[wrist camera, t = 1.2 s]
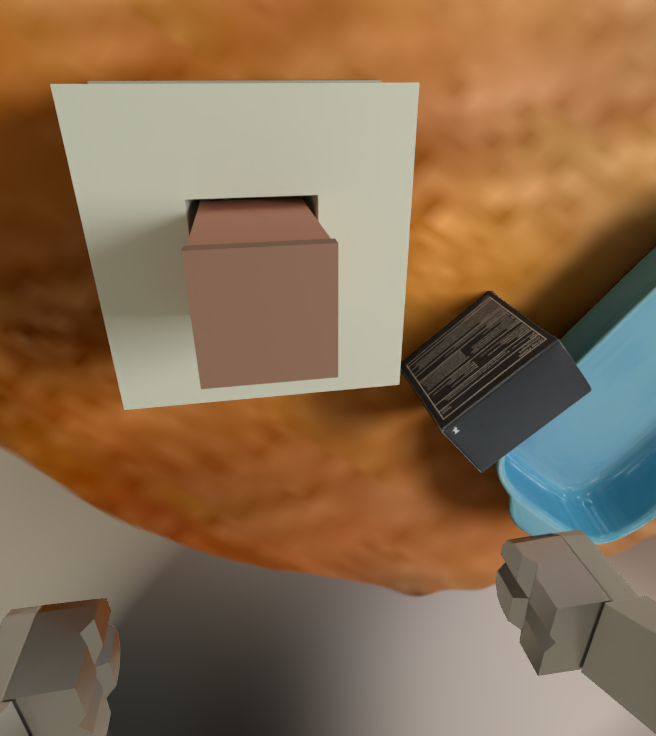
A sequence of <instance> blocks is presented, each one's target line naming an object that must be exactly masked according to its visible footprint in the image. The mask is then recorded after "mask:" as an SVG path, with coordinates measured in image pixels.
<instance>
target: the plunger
mask: <svg viewBox="0 0 656 736" xmlns="http://www.w3.org/2000/svg"><path fill="white" fill-rule="evenodd" d="M181 253H182V260H183V267H184V274H185V281H186V288H187V295H188V302H189V309H190V316H191V323H192V330H193V337H194V344H195V351H196V358H197V365H198V372H199V379H200V386H201V389H211V388H222V387H233V386H245V385H256V384H268V383H279V382H290V381H302V380H313V379H325V378H336V377H338V242H337V240H336V239H335V238H334V239H331V238H330V237H329V235H328V234H327V233H326V231H325V230H324V228H323V227H322V226H321V224H320V223H319V222H318V220H317V219H316V217H315V216H314V215H313V213H312V212H311V211H310V209H309V208H308V206H307V205H306V204H305V202H304V201H303V199H302V198H278V199H250V200H223V201H200V204H199V207H198V210H197V214H196V217H195V220H194V223H193V227H192V230H191V233H190V236H189V240H188V243H187V246H183V247H182V250H181Z"/></svg>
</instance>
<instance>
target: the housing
mask: <svg viewBox="0 0 656 736" xmlns="http://www.w3.org/2000/svg"><path fill="white" fill-rule="evenodd" d="M50 86H51V90H52V95H53V99H54V103H55V108H56V112H57V117H58V121H59V125H60V130H61V134H62V139H63V143H64V147H65V152H66V156H67V160H68V165H69V169H70V174H71V178H72V182H73V187H74V191H75V196H76V200H77V204H78V209H79V213H80V218H81V222H82V226H83V231H84V235H85V240H86V244H87V248H88V253H89V257H90V262H91V266H92V270H93V275H94V279H95V283H96V288H97V292H98V297H99V301H100V305H101V310H102V314H103V319H104V323H105V327H106V332H107V336H108V341H109V345H110V349H111V354H112V358H113V363H114V367H115V371H116V376H117V380H118V385H119V389H120V393H121V398H122V402H123V406H124V410H128V409H139V408H150V407H161V406H172V405H183V404H194V403H205V402H216V401H227V400H238V399H249V398H260V397H271V396H281V395H292V394H303V393H314V392H325V391H336V390H347V389H358V388H369V387H380V386H391V385H399V383H400V368H401V353H402V338H403V323H404V307H405V292H406V277H407V262H408V247H409V232H410V217H411V201H412V186H413V171H414V156H415V141H416V126H417V111H418V95H419V83H381V80H301V81H88V84H50ZM278 198H302V199H303V201H304V202H305V204H306V205H307V206H308V208H309V209H310V211H311V212H312V213H313V215H314V216H315V217H316V219H317V220H318V222H319V223H320V224H321V226H322V227H323V228H324V230H325V231H326V233H327V234H328V235H329V237H330V238H331V239H334V238H335V239H336V240H337V242H338V377H336V378H325V379H313V380H302V381H290V382H279V383H268V384H256V385H245V386H233V387H222V388H211V389H201V386H200V379H199V372H198V365H197V358H196V351H195V344H194V337H193V330H192V323H191V316H190V309H189V302H188V295H187V288H186V281H185V274H184V267H183V260H182V253H181V250H182V247H183V246H187V243H188V240H189V236H190V233H191V230H192V227H193V223H194V220H195V217H196V214H197V210H198V207H199V204H200V201H223V200H250V199H278Z"/></svg>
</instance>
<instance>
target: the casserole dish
mask: <svg viewBox="0 0 656 736" xmlns="http://www.w3.org/2000/svg"><path fill="white" fill-rule="evenodd" d="M560 341H561V343H562V344H563V346H564V347H565V349H566V350H567V352H568V353H569V355H570V356H571V358H572V359H573V361H574V362H575V363H576V365H577V366H578V368H579V369H580V371H581V372H582V374H583V375H584V377H585V378H586V380H587V381H588V383H589V385H590V387H591V388H592V391H591V392H590V393H588V394H587V395H585V396H584V397H583V398H581V399H580V400H579V401H577V402H576V403H575V404H573V405H572V406H570V407H569V408H568V409H566V410H565V411H564V412H562V413H561V414H560V415H558V416H557V417H556V418H554V419H553V420H552V421H550V422H549V423H548V424H546V425H545V426H544V427H542V428H541V429H540V430H538V431H537V432H536V433H534V434H533V435H532V436H530V437H529V438H528V439H526V440H525V441H524V442H522V443H521V444H520V445H518V446H517V447H516V448H514V449H513V450H512V451H510V452H509V453H508V454H506V455H505V456H504V457H502V458H501V459H500V460H498V461H497V462H496V463H495V465H496V471H497V475H498V478H499V480H500V482H501V484H502V486H503V487H504V489H505V490H506V492H507V493H508V495H509V513H510V516H511V518H512V520H513V522H514V523H515V524H516V525H517V526H518V527H519V528H520V529H521V530H523V531H524V532H526V533H527V534H529V535H530V536H536V535H542V534H549V533H553V534H554V533H558V532H565V531H572V530H581V531H582V532H584V533H585V534H586V535H587V536H588V537H589V538H590V539H591V540H592V542H593V543H594V544H603V543H609V542H612V541H615V540H618V539H620V538H622V537H624V536H626V535H628V534H630V533H632V532H634V531H636V530H637V529H639V528H641V527H642V526H644V525H645V524H647V523H648V522H649V521H651V520H652V519H654V518H655V517H656V247H655V248H654V249H653V250H652V251H651V252H649V253H648V254H647V255H646V256H645V257H644V258H643V259H642V260H641V261H640V262H639V263H638V264H637V265H636V266H635V267H634V268H633V269H632V270H631V271H630V272H628V273H627V274H626V275H625V276H624V277H623V278H622V279H621V280H620V281H619V282H618V283H617V284H616V285H615V286H614V287H613V288H612V289H611V290H610V291H609V292H608V293H607V294H606V295H605V296H604V297H603V298H602V299H601V300H600V301H599V302H598V303H597V304H596V305H595V306H594V307H593V308H592V309H591V310H590V311H589V312H588V313H586V314H585V315H584V316H583V317H582V318H581V319H580V320H579V321H578V322H577V323H576V324H575V325H574V326H573V327H572V328H571V329H570V330H569V331H568V332H567V333H566V334H565V335H564V336H563V337H562V338H561V339H560Z"/></svg>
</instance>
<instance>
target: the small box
mask: <svg viewBox="0 0 656 736" xmlns="http://www.w3.org/2000/svg"><path fill="white" fill-rule="evenodd" d="M400 372H401V373H403V375H404V376H405V377H406V379H407V380H408V382H409V383H410V385H411V386H412V388H413V390H414V391H415V393H416V394H417V396H418V397H419V399H420V400H421V402H422V403H423V405H424V406H425V408H426V409H427V411H428V412H429V414H430V415H431V417H432V418H433V420H434V421H435V423H436V424H437V426H438V428H439V429H440V431H441V433H442V434H444V435H445V436H446V437H447V438H448V439H449V440H450V442H451V443H452V444H453V445H454V446H455V447H456V448H457V449H458V450H459V451H460V452H461V453H462V454H463V455H464V456H465V457H466V458H467V459H468V460H469V461H470V462H471V463H472V465H474V466H475V467H476V469H477V470H478V471H479V472H484V471H485V470H486V469H488V468H489V467H490V466H492V465H493V464H494V463H496V462H497V461H498V460H500V459H501V458H502V457H504V456H505V455H506V454H508V453H509V452H510V451H512V450H513V449H514V448H516V447H517V446H518V445H520V444H521V443H522V442H524V441H525V440H526V439H528V438H529V437H530V436H532V435H533V434H534V433H536V432H537V431H538V430H540V429H541V428H542V427H544V426H545V425H546V424H548V423H549V422H550V421H552V420H553V419H554V418H556V417H557V416H558V415H560V414H561V413H562V412H564V411H565V410H566V409H568V408H569V407H570V406H572V405H573V404H575V403H576V402H577V401H579V400H580V399H581V398H583V397H584V396H585V395H587V394H588V393H590V392H591V391H592V388H591V387H590V385H589V383H588V381H587V380H586V378H585V377H584V375H583V374H582V372H581V371H580V369H579V368H578V366H577V365H576V363H575V362H574V361H573V359H572V358H571V356H570V355H569V353H568V352H567V350H566V349H565V347H564V346H563V344H562V343H561V341H560V340H559V339H557V338H556V337H554V336H553V335H550V334H549V333H547V332H546V331H545V330H543V329H541V328H540V327H539V326H538V325H536V324H534V323H533V322H532V321H531V320H530V319H528V318H527V317H525V316H524V315H523V314H521V313H520V312H519V311H517V310H515V309H514V308H513V307H511V306H510V305H509V304H507V303H506V302H505V301H503V300H501V299H500V298H499V297H498V296H497V295H496V294H495V293H494V292H493V291H489V292H487V293H486V294H485V295H484V296H483V297H481V298H480V299H479V300H477V301H476V302H475V303H474V304H473V305H471V306H470V307H469V308H468V309H467V310H465V311H464V312H463V313H462V314H460V315H459V316H458V317H457V318H456V319H454V320H453V321H452V322H451V323H449V324H448V325H447V326H446V327H445V328H444V329H442V330H441V331H440V332H439V333H437V334H436V335H435V336H434V337H432V338H431V339H430V340H429V341H428V342H426V343H425V344H424V345H423V346H422V347H420V348H419V349H418V350H417V351H415V352H414V353H413V354H412V355H411V356H409V357H408V358H407V359H406V360H405V361H403V362H402V363H401V368H400Z"/></svg>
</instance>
